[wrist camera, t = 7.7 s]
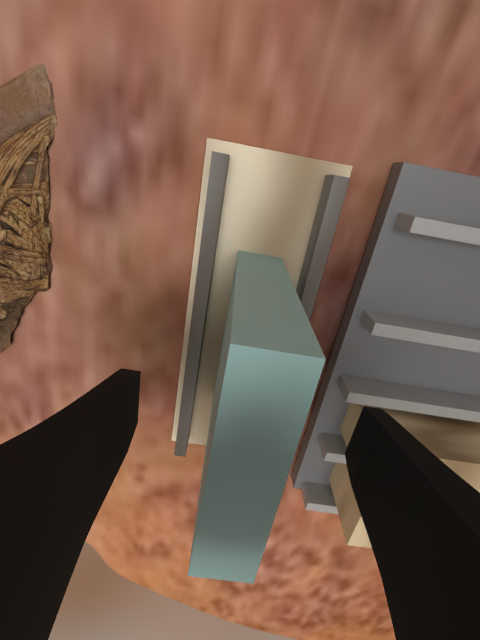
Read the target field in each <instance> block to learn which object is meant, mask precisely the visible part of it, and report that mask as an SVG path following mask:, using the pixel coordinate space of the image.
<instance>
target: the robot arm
mask: <svg viewBox="0 0 480 640" xmlns="http://www.w3.org/2000/svg"><path fill="white" fill-rule="evenodd" d="M140 374H141V372H140V371H134V370H127V369H120V370H118V371H117V372H115V373H114V374H112V375H111V376H110V377H108V378H107V379H105V380H104V381H103V382H101V383H100V384H99V385H97V386H96V387H94V388H93V389H92V390H90V391H89V392H87V393H86V394H84V395H83V396H81V397H80V398H79V399H77V400H76V401H74V402H73V403H71V404H70V405H68V406H67V407H65V408H64V409H62V410H61V411H59V412H57V413H56V414H54V415H52V416H51V417H49V418H48V419H46V420H44V421H43V422H41V423H40V424H38V425H36V426H34V427H33V428H31V429H29V430H27V431H26V432H24V433H22V434H20V435H18V436H16V437H14V438H12V439H10V440H9V441H7V442H5V443H3V444H1V445H0V640H48V638H49V635H50V632H51V630H52V627H53V624H54V621H55V619H56V616H57V613H58V611H59V608H60V605H61V603H62V600H63V597H64V595H65V592H66V589H67V586H68V584H69V581H70V578H71V575H72V573H73V571H74V568H75V565H76V563H77V560H78V557H79V555H80V552H81V550H82V547H83V545H84V542H85V540H86V537H87V535H88V533H89V531H90V528H91V526H92V524H93V522H94V520H95V518H96V516H97V514H98V512H99V510H100V507H101V505H102V503H103V501H104V499H105V497H106V495H107V493H108V491H109V489H110V487H111V485H112V483H113V481H114V479H115V477H116V475H117V473H118V471H119V469H120V466H121V464H122V462H123V460H124V458H125V456H126V454H127V452H128V449H129V446H130V443H131V440H132V438H133V435H134V432H135V429H136V426H137V423H138V407H139V390H140ZM345 458H346V463H347V469H348V474H349V478H350V483H351V486H352V490H353V493H354V496H355V499H356V502H357V505H358V508H359V511H360V514H361V517H362V520H363V523H364V526H365V529H366V531H367V534H368V537H369V540H370V543H371V546H372V549H373V552H374V555H375V558H376V561H377V564H378V568H379V571H380V574H381V578H382V582H383V586H384V590H385V594H386V598H387V602H388V606H389V610H390V614H391V619H392V623H393V628H394V632H395V637H396V640H480V492H478V491H477V490H476V489H475V488H473V487H472V486H471V485H470V484H469V483H467V482H466V481H465V480H464V479H462V478H461V477H460V476H459V475H458V474H456V473H455V472H454V471H453V470H452V469H450V468H449V467H448V466H447V465H446V464H445V463H443V462H442V461H441V460H440V459H439V458H438V457H436V456H435V455H434V454H433V453H432V452H431V451H430V450H429V449H427V448H426V447H425V446H424V445H423V444H422V443H421V442H420V441H418V440H417V439H416V438H415V437H414V436H413V435H412V434H411V433H410V432H408V431H407V430H406V429H405V428H404V427H403V426H402V425H401V424H400V423H398V422H397V421H396V420H395V419H394V418H393V417H391V416H390V415H389V414H388V413H387V412H385V411H384V410H383V409H379V408H373V407H366V406H364V407H363V409H362V411H361V414H360V416H359V419H358V421H357V424H356V426H355V429H354V431H353V434H352V436H351V439H350V441H349V444H348V446H347V448H346V451H345Z"/></svg>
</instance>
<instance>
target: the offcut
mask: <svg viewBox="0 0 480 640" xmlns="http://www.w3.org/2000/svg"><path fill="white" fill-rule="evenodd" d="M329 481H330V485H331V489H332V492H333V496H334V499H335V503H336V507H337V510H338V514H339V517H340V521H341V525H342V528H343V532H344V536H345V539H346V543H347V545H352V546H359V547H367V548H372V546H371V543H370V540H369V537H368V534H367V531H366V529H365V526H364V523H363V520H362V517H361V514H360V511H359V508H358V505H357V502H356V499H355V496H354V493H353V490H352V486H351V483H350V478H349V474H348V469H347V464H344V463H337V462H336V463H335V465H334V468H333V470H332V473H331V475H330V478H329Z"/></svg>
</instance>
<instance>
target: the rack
mask: <svg viewBox="0 0 480 640" xmlns="http://www.w3.org/2000/svg"><path fill="white" fill-rule="evenodd" d="M350 403H355V404H362V405H368V406H375V407H381V408H388V409H394V410H401V411H408V412H414V413H421V414H427V415H434V416H440V417H447V418H454V419H460V420H467V421H473V422H480V177H477V176H472V175H466V174H461V173H456V172H451V171H446V170H441V169H436V168H431V167H426V166H421V165H416V164H411V163H406V162H399V163H394V164H393V167H392V170H391V173H390V176H389V179H388V182H387V185H386V188H385V191H384V194H383V197H382V200H381V203H380V206H379V209H378V213H377V216H376V219H375V222H374V225H373V228H372V231H371V234H370V237H369V240H368V243H367V246H366V249H365V252H364V255H363V258H362V261H361V264H360V267H359V270H358V273H357V276H356V280H355V283H354V286H353V289H352V292H351V295H350V298H349V301H348V304H347V307H346V310H345V313H344V316H343V319H342V322H341V325H340V328H339V331H338V334H337V337H336V340H335V344H334V347H333V350H332V353H331V356H330V359H329V362H328V365H327V368H326V371H325V374H324V377H323V380H322V383H321V386H320V389H319V392H318V395H317V398H316V401H315V404H314V407H313V411H312V414H311V417H310V420H309V423H308V426H307V429H306V432H305V435H304V438H303V441H302V444H301V447H300V450H299V453H298V456H297V459H296V462H295V465H294V468H293V471H292V474H291V475H292V482H293V488H298V489H302V493H303V499H304V504H305V510H311V511H319V512H327V513H334V514H338V510H337V507H336V503H335V499H334V496H333V492H332V489H331V485H330V481H329V478H330V475H331V473H332V470H333V468H334V465H335V463H336V462H337V463H344V464H347V463H346V458H345V451H346V448H347V447H346V444H345V441H344V439H343V436H342V433H341V431H340V428H341V425H342V422H343V420H344V417H345V414H346V412H347V409H348V407H349V404H350Z"/></svg>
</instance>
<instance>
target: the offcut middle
mask: <svg viewBox="0 0 480 640" xmlns="http://www.w3.org/2000/svg"><path fill="white" fill-rule="evenodd" d="M364 406H366V407H373V408H379V409H383V410H384V411H385V412H387V413H388V414H389V415H390V416H391V417H393V418H394V419H395V420H396V421H397V422H398V423H400V424H401V425H402V426H403V427H404V428H405V429H406V430H407V431H408V432H410V433H411V434H412V435H413V436H414V437H415V438H416V439H417V440H418V441H420V442H421V443H422V444H423V445H424V446H425V447H426V448H427V449H429V450H430V451H431V452H432V453H433V454H434V455H435V456H436V457H438V458H439V459H440V460H441V461H442V462H443V463H445V464H446V465H447V466H448V467H449V468H450V469H452V470H453V471H454V472H455V473H456V474H458V475H459V476H460V477H461V478H462V479H464V480H465V481H466V482H467V483H469V484H470V485H471V486H472V487H473V488H475V489H476V490H477V491H478V492H480V422H473V421H467V420H460V419H454V418H447V417H440V416H434V415H427V414H421V413H414V412H408V411H401V410H394V409H388V408H381V407H375V406H368V405H362V404H355V403H350V404H349V407H348V409H347V412H346V414H345V417H344V420H343V422H342V425H341V428H340V431H341V433H342V436H343V439H344V441H345V444H346V447H347V446H348V444H349V441H350V439H351V436H352V434H353V431H354V429H355V426H356V424H357V421H358V419H359V416H360V414H361V411H362V409H363V407H364Z"/></svg>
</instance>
